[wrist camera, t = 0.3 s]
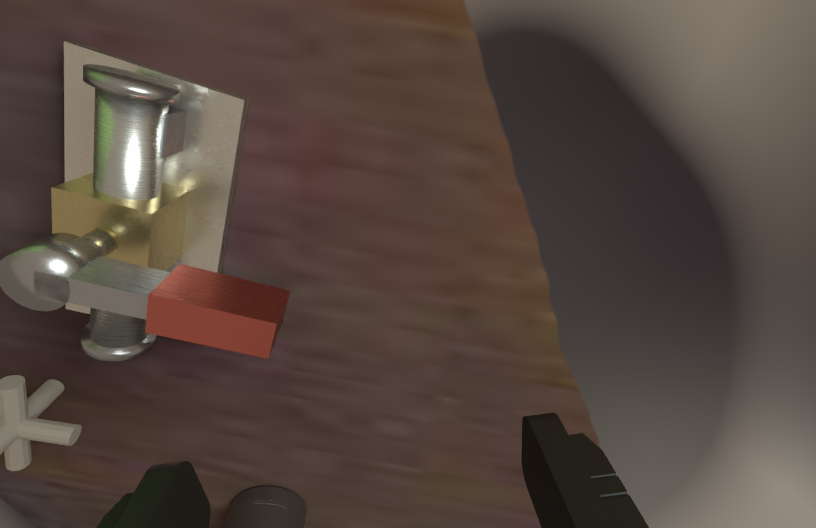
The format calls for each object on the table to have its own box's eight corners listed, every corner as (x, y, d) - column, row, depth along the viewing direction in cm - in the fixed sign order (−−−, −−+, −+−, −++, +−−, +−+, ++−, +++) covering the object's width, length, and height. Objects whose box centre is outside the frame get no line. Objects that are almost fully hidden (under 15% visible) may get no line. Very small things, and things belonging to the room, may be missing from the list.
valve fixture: (212, 330, 40) (163, 406, 31) (76, 300, 38) (-20, 373, 29) (250, 98, 32) (197, 109, 22) (78, 42, 29) (-58, 29, 20)
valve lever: (45, 274, 26) (-9, 307, 22) (43, 222, 25) (-15, 248, 21) (281, 328, 29) (267, 365, 25) (291, 284, 27) (278, 316, 24)
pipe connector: (107, 430, 44) (38, 521, 35) (3, 413, 43) (-99, 505, 34) (108, 357, 41) (31, 439, 31) (-6, 336, 39) (-124, 416, 30)
